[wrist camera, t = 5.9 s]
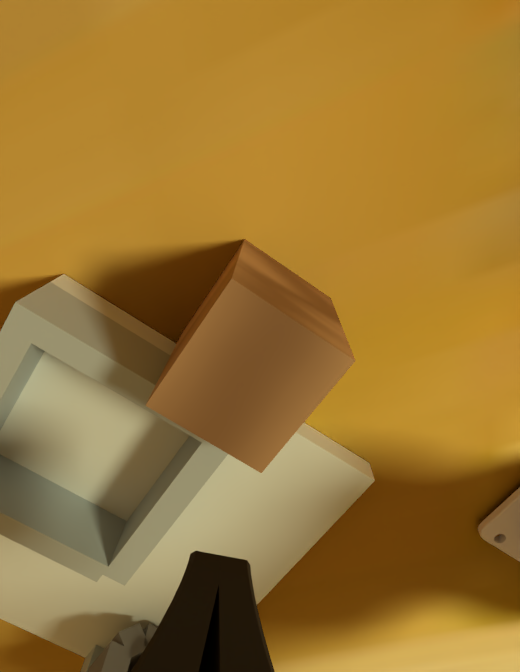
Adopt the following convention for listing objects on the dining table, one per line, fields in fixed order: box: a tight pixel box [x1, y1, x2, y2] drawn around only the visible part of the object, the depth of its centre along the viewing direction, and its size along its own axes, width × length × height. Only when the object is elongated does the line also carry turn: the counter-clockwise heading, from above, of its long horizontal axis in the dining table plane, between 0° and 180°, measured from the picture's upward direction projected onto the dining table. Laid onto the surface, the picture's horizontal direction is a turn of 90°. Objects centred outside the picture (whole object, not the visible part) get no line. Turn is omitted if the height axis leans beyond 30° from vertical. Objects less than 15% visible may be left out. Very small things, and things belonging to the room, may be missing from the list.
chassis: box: [0, 274, 375, 672], centre depth 20 cm, size 15×17×5 cm
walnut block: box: [145, 239, 355, 473], centre depth 16 cm, size 4×4×6 cm
